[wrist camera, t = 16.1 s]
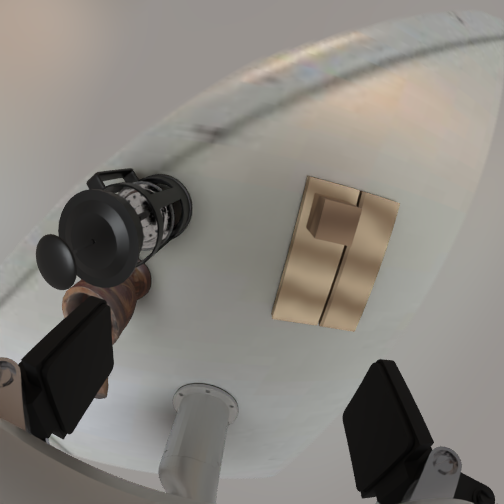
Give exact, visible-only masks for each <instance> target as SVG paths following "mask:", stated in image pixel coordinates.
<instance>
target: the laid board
mask: <svg viewBox="0 0 504 504" xmlns="http://www.w3.org/2000/svg"><path fill="white" fill-rule="evenodd" d="M359 191H360V190H359ZM356 206H357V207H359V208H361V209H362V212H361V216H360V219H359V223H358V226H357V229H356V233H355V236H354V239H353V243H352V246H351V247H350V246H346V245H344V248H343V252H342V255H341V258H340V261H339V264H338V267H337V270H336V273H335V276H334V279H333V282H332V285H331V288H330V291H329V294H328V297H327V300H326V302H325V305H324V308H323V311H322V314H321V316H320V319H319V326H322V327H329V328H335V329H341V330H347V331H353V332H355V329H356V327H357V325H358V322H359V320H360V318H361V315H362V313H363V310H364V308H365V306H366V303H367V301H368V298H369V295H370V293H371V290H372V288H373V285H374V282H375V280H376V277H377V274H378V272H379V269H380V266H381V263H382V260H383V257H384V254H385V251H386V248H387V245H388V242H389V239H390V236H391V233H392V230H393V226H394V223H395V220H396V216H397V213H398V209H399V206H400V203H397V202H394V201H391V200H388V199H385V198H382V197H379V196H376V195H373V194H370V193H366V192H363V191H360V192H359V196H358V200H357V204H356Z"/></svg>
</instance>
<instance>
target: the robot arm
mask: <svg viewBox="0 0 504 504" xmlns="http://www.w3.org/2000/svg"><path fill="white" fill-rule="evenodd" d="M21 360H22V361H21V362H20V363H19V364H17V363H16V362H15V361H13V360H11V359H9V358H3V357H1V358H0V504H216V497H217V488H218V482H219V475H220V469H221V463H222V457H223V450H224V444H225V438H226V432H227V426H228V425H230V424H231V423H233V422H234V421H235V419H236V418H237V415H238V406H237V403H236V401H235V400H234V399H233V398H232V397H231V396H230V395H229V394H228V393H226V392H225V391H223V390H221V389H219V388H216V387H214V386H210V385H205V384H190V385H186V386H183V387H182V388H180V389H179V390H178V391H177V392H176V393H175V395H174V398H173V405H174V408H175V410H176V412H177V415H176V418H175V421H174V423H173V426H172V429H171V432H170V435H169V438H168V441H167V444H166V447H165V450H164V453H163V456H162V459H161V462H160V465H159V478H160V481H161V483H162V486H163V488H164V489H165V491H166V493H165V492H161V491H158V490H154V489H151V488H148V487H145V486H142V485H139V484H136V483H133V482H130V481H127V480H125V479H122V478H119V477H117V476H114V475H112V474H109V473H107V472H104V471H102V470H100V469H98V468H95V467H93V466H91V465H89V464H86V463H84V462H82V461H80V460H78V459H76V458H74V457H72V456H70V455H68V454H66V453H64V452H62V451H60V450H58V449H56V448H55V447H53V446H51V445H50V444H49V439H48V438H49V437H50V435H51V434H52V433H53V434H54V435H56V436H58V437H60V438H62V439H63V440H64V438H65V436H66V435H67V433H68V434H71V433H72V432H73V431H74V429H75V428H76V426H77V424H78V423H79V421H80V420H81V418H82V416H83V415H84V413H85V412H86V410H87V408H88V407H89V405H90V404H91V402H92V401H93V399H94V397H95V396H96V394H97V393H98V391H99V390H100V388H101V387H102V385H103V384H104V382H105V381H106V379H107V378H108V376H109V375H110V373H111V371H112V369H113V365H114V359H113V347H112V330H111V308H110V306H109V305H107V302H106V300H104V299H101V298H98V297H95V296H90V297H88V298H87V299H86V300H85V301H84V302H82V303H81V304H80V305H79V306H78V307H77V308H76V309H75V310H73V311H72V312H71V313H70V314H69V315H68V316H67V317H66V318H65V319H63V320H62V321H61V322H60V323H59V324H58V325H57V326H56V327H55V328H54V329H53V330H51V331H50V332H49V333H48V334H47V335H46V336H45V337H44V338H43V339H42V340H41V341H40V342H39V343H38V344H37V345H36V346H35V347H34V348H32V349H31V350H30V351H29V352H28V353H27V354H26V355H25V356H24V357H23V358H22V359H21ZM343 424H344V428H345V433H346V437H347V442H348V446H349V452H350V457H351V461H352V466H353V471H354V476H355V482H356V487H357V490H358V491H359V492H361V496H362V498H370V497H377V502H376V504H495V496H494V494H493V491H492V490H491V489H490V488H489V487H487V486H486V485H484V484H482V483H480V482H478V481H476V480H474V479H472V478H471V477H469V476H466V475H465V474H463V473H461V467H462V464H461V460H460V458H459V456H458V455H457V454H456V453H455V452H454V451H453V450H452V449H450V448H447V447H437V448H435V449H433V450H432V448H431V446H432V444H433V443H434V441H433V439H432V437H431V435H430V433H429V430H428V428H427V426H426V424H425V422H424V419H423V417H422V415H421V413H420V411H419V409H418V407H417V405H416V403H415V401H414V399H413V397H412V395H411V393H410V391H409V389H408V387H407V385H406V383H405V381H404V379H403V377H402V375H401V373H400V371H399V369H398V367H397V366H396V363H395V362H394V361H392V360H382V359H379V360H377V361H376V363H373V364H372V365H371V366H370V368H369V370H368V372H367V374H366V376H365V377H364V379H363V381H362V383H361V384H360V386H359V388H358V389H357V391H356V393H355V394H354V396H353V398H352V399H351V401H350V403H349V404H348V406H347V407H346V409H345V411H344V413H343Z"/></svg>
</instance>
